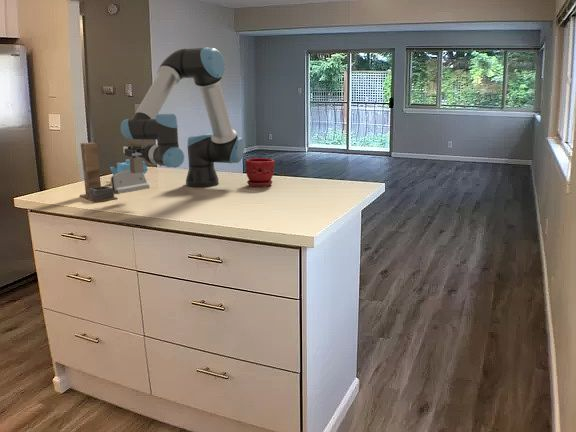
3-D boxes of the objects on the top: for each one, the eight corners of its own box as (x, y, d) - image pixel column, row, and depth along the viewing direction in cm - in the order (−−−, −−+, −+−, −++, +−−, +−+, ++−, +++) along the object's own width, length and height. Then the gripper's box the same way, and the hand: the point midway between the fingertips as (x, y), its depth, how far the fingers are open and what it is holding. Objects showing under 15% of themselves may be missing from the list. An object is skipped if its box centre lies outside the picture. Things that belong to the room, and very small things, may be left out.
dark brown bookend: (117, 199, 237) (112, 144, 232) (95, 202, 231) (89, 146, 226) (101, 193, 250) (96, 141, 244) (79, 196, 244) (74, 143, 238)
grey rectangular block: (143, 172, 234) (140, 133, 231) (134, 173, 232) (131, 134, 228) (139, 171, 237) (136, 132, 233) (130, 172, 235) (127, 133, 231)
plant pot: (269, 188, 254) (268, 161, 251) (241, 187, 258) (240, 161, 255) (278, 183, 266) (278, 157, 263) (252, 182, 270) (251, 157, 267)
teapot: (143, 184, 271) (141, 161, 268) (111, 184, 270) (109, 162, 267) (148, 178, 285) (147, 157, 283) (118, 179, 284) (116, 157, 282)
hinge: (118, 193, 248) (112, 171, 248) (113, 196, 251) (106, 174, 251) (150, 188, 260) (144, 166, 260) (145, 190, 263) (139, 169, 263)
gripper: (136, 166, 215) (110, 160, 232) (176, 161, 225) (148, 156, 243) (135, 146, 213) (109, 142, 230) (175, 142, 224) (147, 138, 241)
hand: (129, 149), depth 236 cm, fingers closed on grey rectangular block, 4 cm apart
